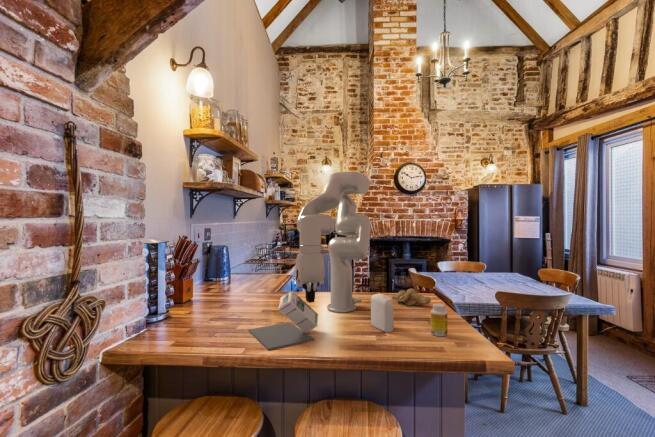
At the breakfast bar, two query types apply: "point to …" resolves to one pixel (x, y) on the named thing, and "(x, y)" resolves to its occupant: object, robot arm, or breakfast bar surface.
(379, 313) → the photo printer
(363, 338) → the breakfast bar surface
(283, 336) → the mat
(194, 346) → the breakfast bar surface
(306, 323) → the syrup box
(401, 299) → the ginger root
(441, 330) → the supplement bottle
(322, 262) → the robot arm
